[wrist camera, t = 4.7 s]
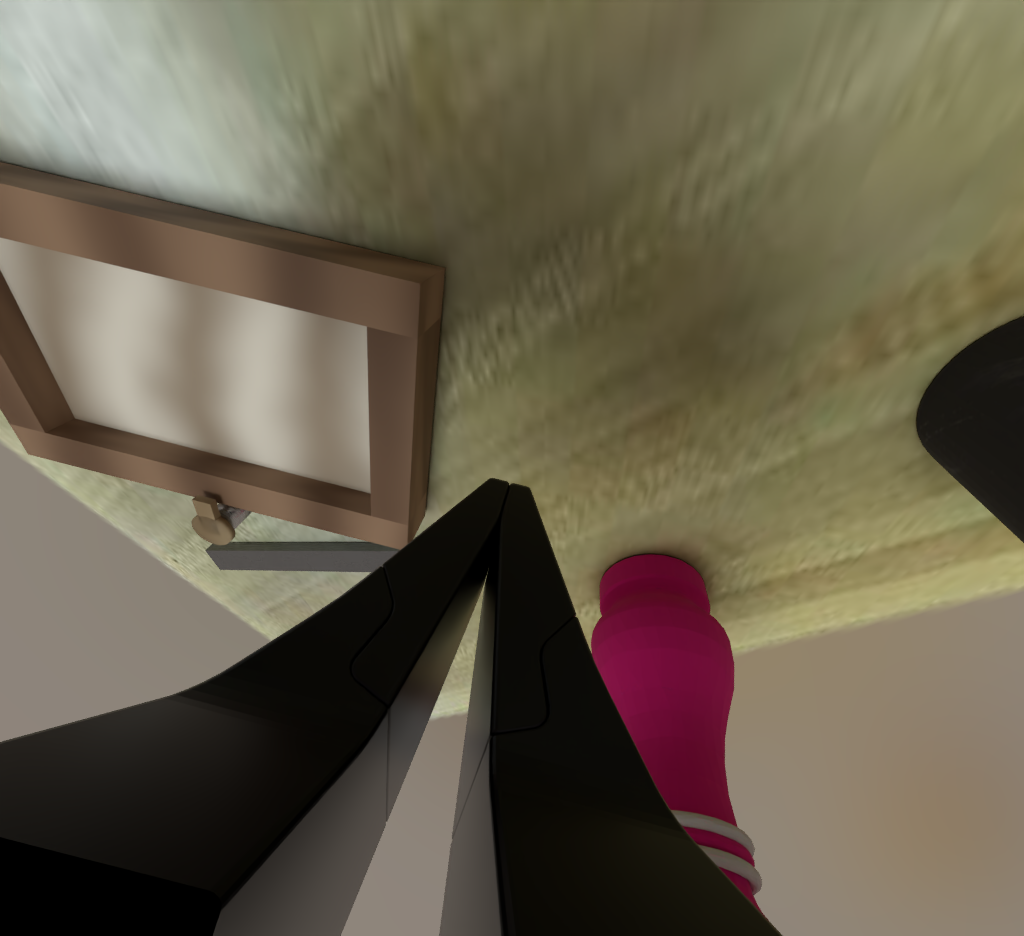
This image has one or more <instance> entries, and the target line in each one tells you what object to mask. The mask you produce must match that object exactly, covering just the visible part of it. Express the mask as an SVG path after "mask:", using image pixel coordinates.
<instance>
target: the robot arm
mask: <svg viewBox="0 0 1024 936" xmlns="http://www.w3.org/2000/svg"><path fill="white" fill-rule="evenodd" d="M488 568H489V569H488ZM487 572H488V573H487ZM486 576H487V578H486ZM485 579H486V582H485ZM484 582H485V587H484V594H483V601H482V609H481V617H480V624H479V632H478V640H477V648H476V655H475V663H474V671H473V679H472V686H471V694H470V702H469V709H468V717H467V725H466V733H465V740H464V748H463V756H462V764H461V771H460V772H461V773H460V779H459V788H458V795H457V803H456V810H455V818H454V826H453V833H452V843H451V848H450V856H449V865H448V872H447V879H446V887H445V895H444V903H443V910H442V918H441V926H440V934H439V936H782V935H781V934H780V932H779V931H778V930H777V929H776V928H775V927H774V926H773V925H772V924H771V923H770V922H769V921H768V920H767V918H766V917H765V916H764V915H763V914H762V913H761V912H760V911H759V910H758V909H757V908H756V907H755V906H754V905H753V903H752V902H751V901H750V900H749V899H748V898H747V897H746V896H745V895H744V894H743V893H742V892H741V891H740V890H739V888H738V887H737V886H736V885H735V884H734V883H733V882H732V881H731V880H730V879H729V878H728V877H727V876H726V875H725V873H724V872H723V871H722V870H721V869H720V868H719V867H718V866H717V865H716V864H715V863H714V862H713V861H712V860H711V858H710V857H709V856H708V855H707V854H706V853H705V852H704V851H703V850H702V849H701V848H700V847H699V846H698V845H697V843H696V842H695V841H694V840H693V839H692V838H691V837H690V836H689V834H688V833H687V832H686V830H685V829H684V828H683V827H682V825H681V824H680V823H679V821H678V820H677V819H676V817H675V816H674V814H673V813H672V811H671V810H670V808H669V807H668V805H667V804H666V802H665V800H664V799H663V797H662V795H661V794H660V792H659V790H658V788H657V786H656V784H655V782H654V781H653V779H652V777H651V775H650V773H649V771H648V769H647V767H646V765H645V763H644V761H643V759H642V757H641V755H640V753H639V751H638V749H637V747H636V745H635V743H634V741H633V739H632V737H631V735H630V733H629V731H628V729H627V727H626V725H625V723H624V721H623V719H622V717H621V715H620V713H619V711H618V709H617V707H616V705H615V703H614V701H613V699H612V697H611V695H610V693H609V691H608V689H607V687H606V685H605V683H604V681H603V678H602V676H601V674H600V672H599V670H598V668H597V666H596V664H595V661H594V659H593V656H592V654H591V651H590V649H589V646H588V644H587V641H586V639H585V636H584V634H583V631H582V628H581V625H580V622H579V620H578V618H577V617H575V616H576V612H575V609H574V607H573V604H572V601H571V598H570V596H569V593H568V590H567V588H566V585H565V582H564V579H563V577H562V574H561V571H560V568H559V566H558V563H557V560H556V557H555V555H554V552H553V549H552V547H551V544H550V541H549V538H548V536H547V533H546V530H545V527H544V525H543V522H542V519H541V517H540V514H539V511H538V508H537V506H536V503H535V500H534V497H533V495H532V492H531V490H530V488H529V487H527V486H523V485H519V484H515V483H512V484H510V486H509V483H508V482H507V481H503V480H499V479H495V478H490V479H488V480H487V481H486V482H485V483H483V484H482V485H481V486H480V487H478V488H477V489H476V490H475V491H473V492H472V493H471V494H470V495H468V496H467V497H466V498H465V499H463V500H462V501H461V502H460V503H458V504H457V505H456V506H455V507H453V508H452V509H451V510H450V511H448V512H447V513H446V514H445V515H443V516H442V517H441V518H440V519H438V520H437V521H436V522H435V523H433V524H432V525H431V526H430V527H428V528H427V529H426V530H425V531H423V532H422V533H421V534H420V535H418V536H417V537H416V538H415V539H413V540H412V541H411V542H410V543H408V544H407V545H406V546H405V547H403V548H402V549H401V550H399V551H398V552H397V553H396V554H394V555H393V556H392V557H391V558H389V559H388V560H387V561H386V562H384V563H383V565H382V566H379V567H378V568H377V569H375V570H374V571H373V572H372V573H370V574H369V575H368V576H367V577H365V578H364V579H363V580H362V581H360V582H359V583H358V584H356V585H355V586H354V587H352V588H351V589H350V590H348V591H347V592H346V593H344V594H343V595H342V596H340V597H339V598H337V599H336V600H334V601H333V602H331V603H330V604H328V605H327V606H325V607H324V608H322V609H321V610H319V611H318V612H316V613H315V614H313V615H312V616H310V617H309V618H307V619H305V620H304V621H302V622H301V623H299V624H298V625H296V626H294V627H293V628H291V629H290V630H288V631H287V632H285V633H283V634H282V635H280V636H279V637H277V638H276V639H274V640H272V641H271V642H269V643H268V644H266V645H265V646H263V647H261V648H260V649H258V650H257V651H255V652H254V653H252V654H250V655H249V656H247V657H246V658H244V659H242V660H241V661H239V662H238V663H236V664H235V665H233V666H231V667H230V668H228V669H226V670H225V671H223V672H221V673H220V674H218V675H216V676H214V677H212V678H210V679H208V680H206V681H204V682H202V683H200V684H198V685H196V686H193V687H191V688H189V689H186V690H184V691H181V692H179V693H176V694H173V695H170V696H167V697H163V698H160V699H156V700H153V701H149V702H145V703H142V704H138V705H134V706H131V707H127V708H123V709H120V710H116V711H112V712H109V713H105V714H101V715H98V716H94V717H90V718H87V719H83V720H80V721H76V722H72V723H68V724H65V725H61V726H57V727H54V728H50V729H46V730H43V731H39V732H35V733H32V734H28V735H24V736H21V737H17V738H13V739H10V740H6V741H3V742H0V936H341V933H342V931H343V929H344V926H345V923H346V921H347V919H348V916H349V914H350V911H351V909H352V906H353V904H354V901H355V899H356V896H357V894H358V892H359V889H360V887H361V884H362V882H363V880H364V877H365V875H366V872H367V870H368V867H369V865H370V863H371V860H372V857H373V855H374V853H375V850H376V848H377V845H378V843H379V841H380V838H381V836H382V833H383V831H384V828H385V825H386V821H387V820H388V818H389V816H390V813H391V811H392V809H393V806H394V803H395V801H396V798H397V796H398V794H399V791H400V789H401V786H402V784H403V782H404V779H405V777H406V774H407V772H408V769H409V767H410V765H411V762H412V760H413V757H414V755H415V752H416V750H417V747H418V745H419V743H420V740H421V737H422V735H423V733H424V730H425V728H426V725H427V723H428V721H429V718H430V716H431V713H432V711H433V708H434V706H435V703H436V701H437V699H438V696H439V694H440V691H441V689H442V686H443V684H444V681H445V679H446V677H447V674H448V672H449V669H450V667H451V664H452V662H453V659H454V657H455V655H456V652H457V650H458V647H459V645H460V642H461V640H462V637H463V635H464V633H465V630H466V628H467V625H468V623H469V620H470V618H471V615H472V613H473V611H474V608H475V606H476V603H477V601H478V598H479V596H480V593H481V591H482V588H483V585H484Z"/></svg>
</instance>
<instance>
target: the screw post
mask: <svg viewBox="0 0 1024 936" xmlns="http://www.w3.org/2000/svg"><path fill="white" fill-rule="evenodd" d="M217 506H218V509H219V512H220V515H221V516H222V517H223V518H225V519H226V520H227V521H228V522H229V523H230V524H231V525H232V526H233V528H234V529H235V528H236V527H237V526H238V525H239V524H240V523H241V522H242V521H243V520H244V519H245V518H246V517H247V516H248V515H249V514H251V513H252V511H248V510H244V509H240V508H236V507H232V506H228V505H224V504H220V503H219V504H218V505H217Z"/></svg>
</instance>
